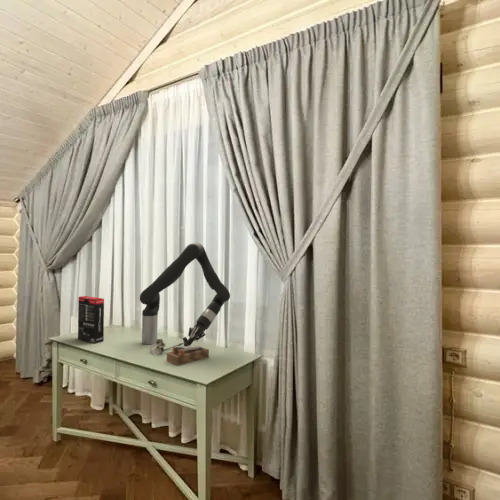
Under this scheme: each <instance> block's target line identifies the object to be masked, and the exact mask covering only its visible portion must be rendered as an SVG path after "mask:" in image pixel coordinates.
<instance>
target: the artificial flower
mask: <svg viewBox="0 0 500 500" xmlns="http://www.w3.org/2000/svg"><path fill="white" fill-rule="evenodd" d="M182 340H183V342H182V343H179V344H176V345H174V346H170V347H169V348H168V347H167V348H166V349H165V347H166V345H167V344H166V343H164V340H163V338H157V341H156V343H154V344H149V345H150V346H149V347H148V350H149V351H150V352H151V355H153V354H154V356H155V355H159V354H162V352H165V351H167V350H170V349H173V347H181V346H182V345H183V347H185V346H188V345H187V344H186V342H187V341H188V337H187V336H184V337H182Z"/></svg>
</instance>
